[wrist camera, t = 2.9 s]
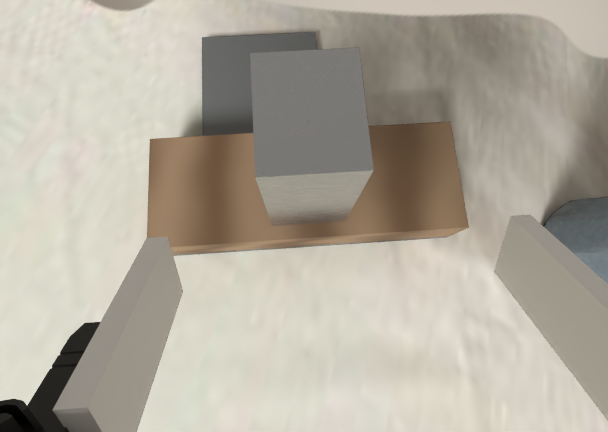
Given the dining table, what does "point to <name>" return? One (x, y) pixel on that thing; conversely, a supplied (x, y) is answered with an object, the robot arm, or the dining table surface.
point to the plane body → (262, 235)
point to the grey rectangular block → (310, 133)
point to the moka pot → (584, 231)
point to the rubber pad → (237, 77)
